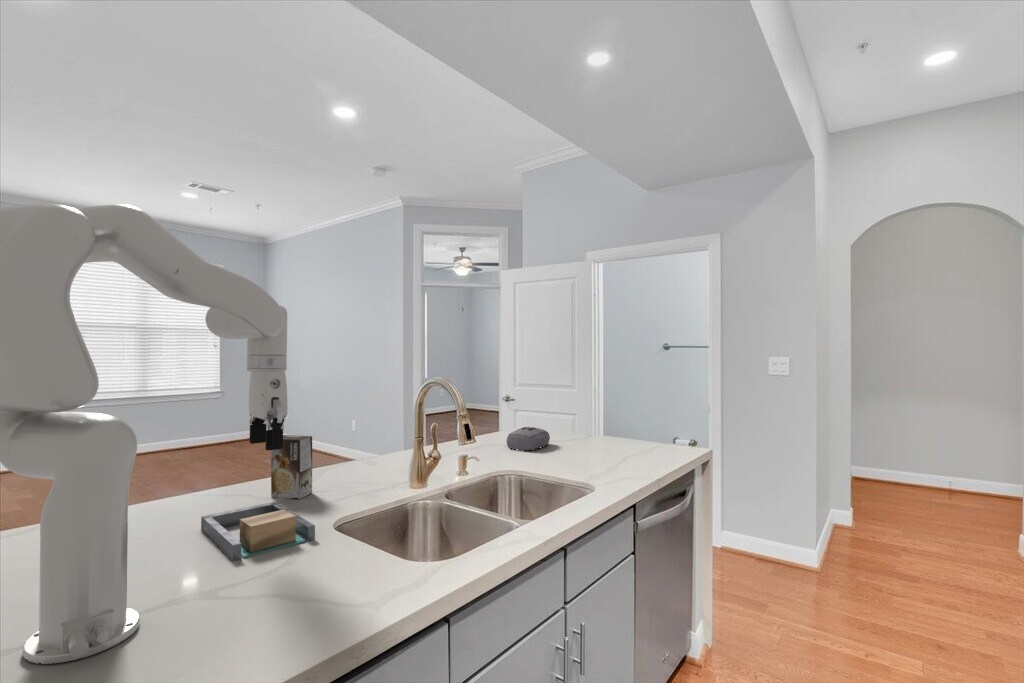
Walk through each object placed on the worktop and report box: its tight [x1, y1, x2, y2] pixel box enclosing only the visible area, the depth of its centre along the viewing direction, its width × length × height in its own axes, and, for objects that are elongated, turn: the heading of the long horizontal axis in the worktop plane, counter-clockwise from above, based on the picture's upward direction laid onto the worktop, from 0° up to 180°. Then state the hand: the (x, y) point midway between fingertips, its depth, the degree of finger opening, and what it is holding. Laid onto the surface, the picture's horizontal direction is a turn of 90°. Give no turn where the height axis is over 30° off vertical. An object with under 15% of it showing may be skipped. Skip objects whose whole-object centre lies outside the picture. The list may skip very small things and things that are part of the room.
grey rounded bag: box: [506, 426, 551, 451], centre depth 212 cm, size 15×8×20 cm
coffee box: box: [270, 434, 313, 500], centre depth 142 cm, size 9×6×16 cm
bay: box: [200, 501, 316, 562], centre depth 112 cm, size 23×16×3 cm
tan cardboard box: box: [239, 510, 296, 552], centre depth 107 cm, size 6×9×5 cm, turn 136°
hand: (265, 446), depth 107 cm, fingers open, 9 cm apart
